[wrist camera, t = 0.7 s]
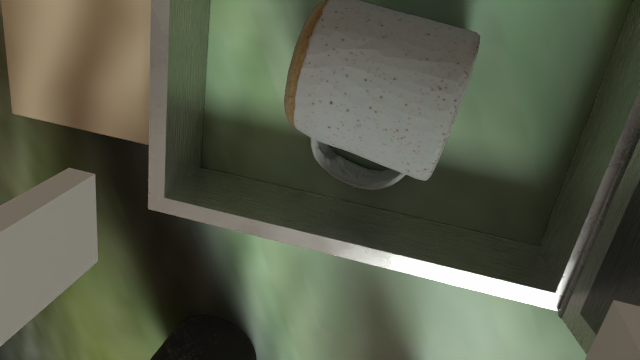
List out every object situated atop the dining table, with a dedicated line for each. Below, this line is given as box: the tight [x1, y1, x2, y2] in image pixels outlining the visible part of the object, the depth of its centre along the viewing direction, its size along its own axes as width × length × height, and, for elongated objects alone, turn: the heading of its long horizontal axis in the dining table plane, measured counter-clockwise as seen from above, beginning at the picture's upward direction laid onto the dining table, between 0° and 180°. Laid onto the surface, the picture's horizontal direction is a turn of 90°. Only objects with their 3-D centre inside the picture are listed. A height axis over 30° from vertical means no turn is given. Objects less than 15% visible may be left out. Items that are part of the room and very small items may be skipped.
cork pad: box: [1, 0, 151, 145], centre depth 32 cm, size 12×13×1 cm
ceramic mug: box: [284, 0, 480, 190], centre depth 27 cm, size 11×8×8 cm
